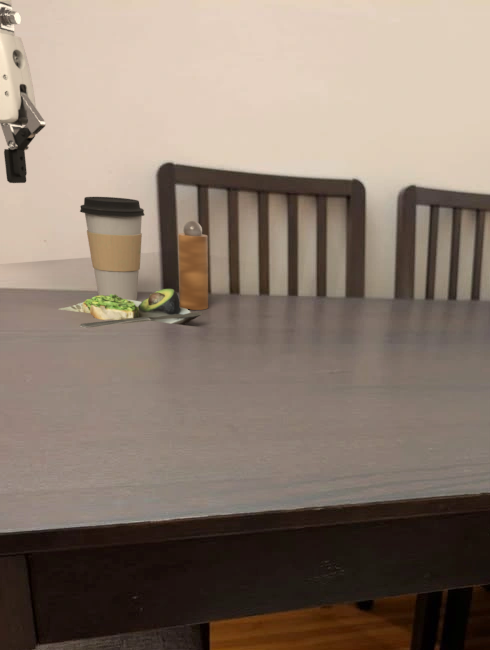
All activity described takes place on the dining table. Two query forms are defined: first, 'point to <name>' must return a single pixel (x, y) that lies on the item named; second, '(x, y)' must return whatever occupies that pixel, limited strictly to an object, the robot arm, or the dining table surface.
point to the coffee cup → (114, 243)
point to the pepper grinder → (193, 267)
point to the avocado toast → (135, 309)
